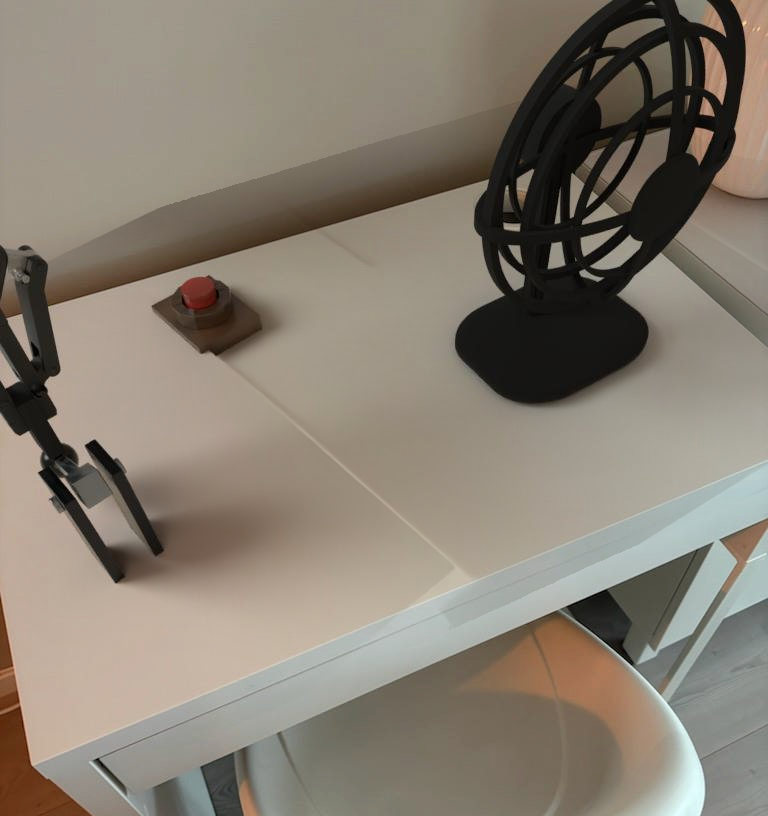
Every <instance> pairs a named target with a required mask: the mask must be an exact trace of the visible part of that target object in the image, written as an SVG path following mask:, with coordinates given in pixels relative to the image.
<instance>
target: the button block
mask: <svg viewBox="0 0 768 816" xmlns="http://www.w3.org/2000/svg"><path fill="white" fill-rule="evenodd" d="M205 277H207V278H209V279H211V280H212V281H213V283H214V286H215V290H216V294H217V301H216V303H215V304H213V305H211V306H210V307H208V308H204V309H198V310H195V309H190V308H188V307H187V306H186V304H185V301H184V298H183V295H182V292H181V287H182V285H180V286H177V287H178V288H176V290H175V291H174V293H172V294H170V295H169V296H166V297H165V298H163V299H161V300H160V301H158V302H157V301H156V303H154V304H152V305H150V307H151V310H152V312H153V313H154V314H155V315H156V316H157V317H158V318H160V319H161V320H162V321H163V322H164V323H165V324H166V325H168V327H170V329H172V330H173V331H174V332H175V333H176V334H177V335H179V336H180V337H181V338H182V339H183V340H184V341H186V343H187V344H188V345H190V346H191V347H192V348H193V349H194V350H195V351H197V353H199V355H202V354H204V353H206V352H208V351H209V352H210V353H212V354H213V355H214V356H215V357H218V356H219V355H221V354H223V353H224V352H226V351H228V350H229V349H232V348H233V347H235V346H237V345H238V344H240V343H241V342H243V341H245V340H247V339H249V338H250V337H252V336H253V335H256V334H257V333H259V332H260V331H262V330H263V327H262V321H261V318H260V313H258V312H257V311H256V310H254V309H253V308H252V307H250V306H249V305H248V304H247V303H245V301H243V300H241V299H240V298H239V297H238V296H237V295H235V294H234V293H233V292H232V291H231V290H230V287H229V286H228V285H226V283H224V282H223V281H221V280H219V279H215V278H214V277H212V276H211V275H210V274H208V275H206V276H205Z"/></svg>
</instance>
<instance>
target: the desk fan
mask: <svg viewBox="0 0 768 816" xmlns="http://www.w3.org/2000/svg"><path fill="white" fill-rule="evenodd" d="M706 1H707V2H708V4H710V5H711V6H712V8H713V9H714V10H715V12H716V13H717V15H718V17H719V19H720V22H721V24H722V26H723V29H724V32H725V35H724V34H723V33H722V32H720V31H718V30H717V29H715V28H713V27H710V26H708V25H705V24H704V23H700V22H696V21H690V20H689V19H688V18H686V17H685V16H684V15H683V14H681V13H680V11H679V6H678V5H677V2H676V0H610V1H609V2H608V3H606V4H605V5H603V6H602V7H601V8H600V9H599V10H597V11H596V12H594V14H592V15H591V16H590V17H589V18H588V19H586V21H584V22H583V23H582V24H581V25H580V26H579V27H578V28H577V29H576V30H575V31H574V32H573V33H572V34H571V35H570V36H569V37H568V39H567V40H566V41H565V42H564V43H563V44H562V45H561V46H560V47H559V48H558V50H557V51H556V52H555V53H554V54H553V55H552V57H551V58H550V59H549V61H548V62H547V63H546V65H545V66H544V68H542V70H541V71H540V73H539V74H538V76H537V77H536V79H535V80H534V82H533V83H532V85H531V86H530V88H529V90H528V91H527V92H526V94H525V95H524V97H523V99H522V101H521V103H520V104H519V106H518V108H517V110H516V112H515V113H514V115H513V117H512V119H511V121H510V124H509V126H508V127H507V130H506V132H505V134H504V136H503V138H502V140H501V143H500V146H499V149H498V151H497V153H496V156H495V159H494V162H493V165H492V168H491V171H490V174H489V178H488V182H487V186H486V189H485V190H484V192H483V193H482V194H481V196H480V197H479V198H478V200H477V202H476V204H475V206H474V213H473V228H474V230H475V232H476V234H477V235H478V236H479V237H481V247H482V254H483V258H484V263H485V267H486V269H487V271H488V274H489V276H490V279H491V280H492V282H493V284H494V285H495V287H496V288H497V289H498V290H499V291H500V292H501V293H502V294H503V295H502V296H501V297H498V298H496V299H493V300H492V301H490V302H488V303H487V302H486V303H485V304H482V305H481V306H479V307H477V308H476V309H474V310H473V311H471V312H470V313H469V314H467V315H466V316H465V317H464V318H463V320H462V321H461V322H460V323H459V324H458V326H457V329H456V332H455V334H454V335H455V336H454V349H455V352H456V353H457V356H458V357H459V358H460V359H461V361H462V362H463V363H464V364H466V365H467V366H468V367H469V368H470V369H471V370H472V371H473V372H474V373H475V374H476V375H477V376H478V377H479V378H480V379H481V380H482V381H483V382H484V383H485V384H486V385H487V386H488V387H489V388H490V389H491V390H493V392H495V393H496V394H498V395H500V396H501V397H503V398H505V399H508V400H509V401H514V402H519V403H523V404H524V403H526V404H543V403H550V402H555V401H558V400H561V399H565V398H567V397H569V396H572V395H573V394H576V393H578V392H580V391H581V390H584V389H585V388H587V387H589V386H591V385H593V384H594V383H597V382H598V381H601V380H602V379H604V378H606V377H608V376H610V375H612V374H614V373H615V372H617V371H619V370H621V369H623V368H625V367H627V366H628V365H629V364H631V363H633V361H635V360H636V359H637V358H638V357H639V356H640V355H641V353H643V350H645V347H646V344H647V343H648V338H649V334H650V333H649V332H650V330H649V325H648V322H647V320H646V318H645V317H644V315H642V313H641V312H639V311H638V309H636V308H634V307H633V306H632V305H631V304H629V303H628V302H627V301H625V300H624V299H622V298H621V297H620V296H619V294H620V293H621V292H623V291H624V289H625V288H626V287H627V286H628V285H629V284H630V283H631V281H632V280H633V279H634V277H635V276H636V275H637V274H639V273H640V272H641V271H642V270H643V269H645V268H646V267H647V266H649V264H651V263H652V262H653V261H654V259H656V258H657V257H658V256H659V255H660V254H661V253H662V252H663V251H664V250H665V248H667V246H668V245H669V244H670V243H671V242H672V241H673V240H674V238H676V236H677V235H678V234H679V233H680V231H681V230H682V229H683V228H684V226H685V225H686V224H687V223H688V221H689V220H690V219H691V217H692V216H693V214H694V213H695V211H696V210H697V208H698V207H699V205H700V204H701V202H702V201H703V199H704V197H705V196H706V195H707V192H708V190H709V189H710V187H711V185H712V183H713V181H714V179H715V178H716V176H717V174H718V173H720V171H721V170H722V169H723V168H724V166H725V165H726V164H727V163H728V161H729V159H730V157H731V156H732V152H733V150H734V146H735V144H736V140H737V132H736V130H735V128H736V124H737V121H738V116H739V112H740V106H741V101H742V99H741V98H742V93H743V88H744V81H745V74H746V66H747V65H746V64H747V46H746V35H745V29H744V26H743V22H742V19H741V16H740V13H739V11H738V9H737V7H736V6H735V4H734V3H733V0H706ZM650 3H651V4H650ZM652 3H653V4H652ZM649 19H654V20H655V19H656V20H657V19H658V20H663V24H664V25H662V26H660V27H658V28H656V29H655V28H654V29H653V30H651V31H649V32H647V33H645V34H643V35H641V36H640V37H638V38H637V39H635V40H633V41H632V42H631V43H629V44H627V45H626V46H625V47H620V46H604V44H605V42H606V40H607V37H608V36H609V34H610V33H612V32H614V31H615V30H617V29H620V28H622V27H624V26H626V25H628V24H632V23H634V22H638V21H642V20H649ZM701 38H704V39H706V40H708V41H709V42H710V43H711V44H712V45H713V46H714V47H715V48H716V50H717V51H718V53H719V55H720V58H721V59H722V62H723V66H724V70H725V71H724V72H725V78H726V80H725V81H726V84H725V90H724V94H723V101H722V102H721V101H720V98H718V96H717V95H716V94H715V93H713V92H711V91H710V90H708V89H705V87H706V77H707V75H706V74H707V73H706V72H707V71H706V70H707V69H706V68H707V67H706V57H705V50H704V46H703V43H702V40H701ZM665 43H669V50H670V59H671V74H672V75H671V78H672V79H671V81H672V88H671V89H669V90H667V91H664V92H663V93H661V94H659V95H658V96H656V97H654V88H653V87H654V86H653V81H652V80H653V79H652V75H651V73H650V70H649V67H648V66H647V63H646V62H645V61H644V60H643V59H642V56H644V55H645V54H646V53H648V52H650V51H652V50H653V49H656V48H657V47H659V46H661V45H663V44H665ZM603 46H604V47H603ZM686 47H687V50H688V53H689V59H690V67H691V82H690V83H691V84H690V85H687V55H686V53H687V52H686ZM587 50H588V52H587V53H585V52H586V51H587ZM584 53H585V54H584ZM581 55H582V56H581ZM608 57H611V58H610V59H609V60H608V61H606V63H605V64H604V65H603V66H602V67H601V68H600V69H599V70H598V71H597V72H596V73H595V74H594V75H593V72H594V68H595V67H596V63H597V60H600V59H603V58H608ZM632 63H633V64H634V66H635V67H636V69H637V70H638V72H639V74H640V78H641V81H642V86H643V87H642V88H643V105H642V107H640V108H639V109H638V110H637V111H636V112H635V113H634V114H633V115H632V116H630V117H629V119H628V120H627V121H623V122H620V123H616V124H613V125H609V126H605V127H602V123H603V122H602V120H603V116H602V108H601V105H600V104H599V102H598V100H597V99H596V98H597V97H598V96H599V95H600V94H601V92H602V91H603V90H604V89H605V88H606V87H607V86H608V84H610V83H611V82H612V81H613V80H614V79H615V78H616V77H617V76H618V75H619V74H620V73H622V72H623V71H624V70H625V69H626V68H627V67H629V66H630V65H631V64H632ZM580 70H581V72H580V74H579V75H580V76H579V79H578V82H577V86H576V88H575V87H574V86H571V85H569V84H567V83H565V82H567V81H568V80H569V79H570V78H571V77H573V76H574V75H575V74H576V73H577V72H579V71H580ZM592 75H593V76H592ZM686 97H689V100H688V105H687V109H685V107H686ZM704 99H705V100H706V101H707V102H708V103H709V105H710V107H711V109H712V112H713V115H709V114H702V113H701V110H702V106H703V101H704ZM668 103H671V114H663V115H662V114H661V115H655V116H652V114H653V113H654V112H656V111H657V110H658V109H660V108H662V107H663V106H665V105H667V104H668ZM685 110H686V113H685ZM664 128H669V135H668V143H667V150H666V156H665V161H664V162H663V163H661V164H660V165H659V166H657V168H656V169H654V171H653V172H652V173H651V174H650V175H649V176H648V178H647V179H646V180H645V181H644V182H643V184H642V186H641V187H640V189H639V191H638V192H637V194H636V196H635V198H634V200H633V202H632V205H631V208H630V210H628V211H625V212H621V213H619V214H616V215H612V216H610V217H606V218H603V219H599V220H595V221H591V222H587V223H584V222H583V221H584V220H585V219H587V218H588V217H589V216H591V214H593V213H594V212H596V211H597V210H598V209H599V208H600V207H601V206H602V205H604V203H605V202H606V201H607V200H608V199H609V198H610V197H611V196H612V194H613V193H614V192H615V191H616V189H617V188H618V187H619V185H620V184H621V183H622V182H623V180H624V179H625V177H626V176H627V174H628V173H629V171H630V169H631V168H632V166H633V164H634V162H635V160H636V158H637V156H638V155H639V152H640V150H641V148H642V145H643V143H644V141H645V138H646V136H647V132H648V130H654V129H655V130H656V129H664ZM696 128H697V129H702V130H705V131H710V132H712V136H711V138H710V140H709V143H708V145H707V148H706V150H705V152H704V155H703V157H702V159H701V161H700V162H699V161H698V159H697V157H696V156H695V155H693V154H692V153H688V152H687V151H688V149H689V146H690V144H691V142H692V139H693V136H694V133H695V132H696V131H695V130H696ZM636 132H637V133H636ZM632 133H636V135H635V138H634V141H633V142H632V146H631V147H630V148H631V149H630V150H629V152H628V154H627V156H626V158H625V160H624V162H623V163H622V165H621V166H620V169H618V171H617V173H616V174H615V176H614V177H613V179H612V180H611V181H610V183H609V184H608V185H607V186H606V188H605V189H604V190H603V191H602V192H601V194H599V195H598V196H597V197H596V198H595V200H593V201H592V202H591V203H590V204H589V200H590V198H591V196H592V193H593V191H594V188H595V186H596V184H597V183H598V181H599V179H600V176H601V175H602V173H603V170H605V168H606V166H607V164H608V163H609V161H610V159H611V158H612V157H613V156H614V154H615V153H616V151H617V150H618V149H619V147H620V146H621V144H623V142H624V141H625V140H626V139H627V137H628V136H629V135H631V134H632ZM607 139H610V140H609V142H608V143H607V144H606V145H605V148H604V149H603V150H602V152H601V153H600V154H599V156H598V158H597V159H596V161H595V163H594V164H593V167H592V168H591V170H590V172H589V174H588V175H587V178H586V180H585V182H584V184H583V186H582V189H581V191H580V194H579V197H578V199H577V202H576V205H575V209H574V213H573V216H572V217H571V187H572V175H573V173H575V172H576V171H577V170H579V168H580V167H581V166H582V165H583V164H584V163H585V161H586V160H587V159H588V158H589V156H590V154H591V153H592V152H593V149H594V147H595V145H596V143H597V142H601V141H604V140H607ZM521 161H522V162H521ZM532 170H533V172H532V175H531V177H530V181H529V184H528V186H527V190H526V193H525V196H524V200H523V206H522V208H521V206H520V202H519V196H518V179H519V178H521V177H522V176H523V175H525V174H527V173H528V172H530V171H532ZM506 188H507V189H506ZM506 190H507V191H508V198H509V199H508V200H509V203H510V205H511V209H512V211H513V214H515V216H516V218H517V219H518V220H519V221H520V223H519V230H511V229H506V228H505V224H504V223H505V222H504V203H505V197H506V196H505V194H506ZM588 204H589V205H588ZM558 206H559V222H556V219H557V211H558ZM583 223H584V224H583ZM618 228H619V229H618ZM614 229H617V231H616V232H614V234H613V235H612V236H610V237H609V238H608V239H607V240H605V241H604V242H603V243H602V244H601V245H599V246H598V247H596V248H595V249H593V250H592V251H591V252H589V253H588V254H586V255H584V253H583V247H582V238H587V237H590V236H593V235H597V234H601V233H604V232H607V231H611V230H614ZM629 236H630V237H631V239H633V240H635V241H636V242H641V244H640V247H639V248H638V250H636V251H635V252H634V253H633V254H632V255H631V256H630V257H629V258H627V259H626V260H625V261H624V262H623V263H622V264H621V265H619V266H616V267H612V268H605V269H602V268H596V267H593V265H595V264H596V263H598V262H599V261H601V260H602V259H604V258H605V257H606V256H608V255H609V254H610V253H612V252H613V251H614V250H615V249H616V248H618V247H619V246H620V245H621V244H622V243H623V242H624V241H626V239H628V237H629ZM557 243H561V249H562V256H563V261H564V265H561V266H558V267H552V268H549V264H550V257H551V250H552V245H553V244H557ZM510 246H513V247H514V246H515V247H516V246H517V247H519V253H520V258H521V262H520V261H518V259H517V258H516V257H515V256H514V254H513V252H512V251H511V248H510ZM500 255H501V256H500ZM500 257H502V258H503V260H504V261H505V262H506V263H507V264H508V265H509V266H510V267H512V268H513V269H514V271H516V272H518V274H520V275H523V276H524V279H523V286H521V287H520V288H517V289H514V288H513V286H512V285H511V284H510V283H509V281H508V279H507V277H506V275H505V273H504V269H503V267H502V263H501V258H500ZM582 271H586V272H587V273H588V274H589V275H592V276H594V277H596V278H601V279H600V280H598V281H597V280H595V279H593V278H590V277H585V276H582V275H581V272H582Z"/></svg>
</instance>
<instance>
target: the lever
mask: <svg viewBox="0 0 768 816" xmlns="http://www.w3.org/2000/svg"><path fill="white" fill-rule="evenodd" d="M61 444H62V445H63V447H64V449H65V450H66V452H65V453H63V454H61V455H59V456H58V457H56V458H54V459H53V460H50V459H49V458H48V457H47V456H46V454H45V453H44V452H43V451H42V450H41V453H40V456H39V464H40V467H41V470H43V469H44V468H46V467H48V466H50V467H51V469H52V470H53V471H54V472H55V474H56V475H57V476H58V477H59V478H60V479H64V480H65V482H66V483H67V484H68V486H69V487H70V489H71V490H72V492H73V494H74V495H75V496H76V497H77V499H78V500H79V501H80V502H81V503H82V504H83V506H85V507H86V509H88V510H90V509H92V508H93V507H95V506H97V505H98V504H100V503H101V502H103V501H104V500H106V499H108V498H110V497H111V496H112V494H113V492H112V491H111V489H110V488H109V486H108V485H107V483H106V482H105V480H104V479H103V477H102V476H101V474H100V472H99V471H98V469H97V467H96V466H95V465H94V466H93V465H92V464H91V463H90V462H86V463H84V464H82V465H81V466H79V465H80V458H79V454H78V452H77V450H76V449H75V448H74V446H71V445H70V444H68V443H66V442H61Z"/></svg>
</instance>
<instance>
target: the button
mask: <svg viewBox="0 0 768 816" xmlns="http://www.w3.org/2000/svg"><path fill="white" fill-rule="evenodd" d="M181 286H182V287H181V292H182V295H183V298H184V301H185V304H186V306H187V307H188V308H190V309H195V310H198V309H204V308H208V307H210V306H211V305H213V304H215V303H216V301H217V294H216V290H215V286H214V283H213V281H212V280H211V279H209V278H207V277H206V276H195V277H191V278H189V279H188V280H186V281H184V282H183V284H181Z"/></svg>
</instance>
